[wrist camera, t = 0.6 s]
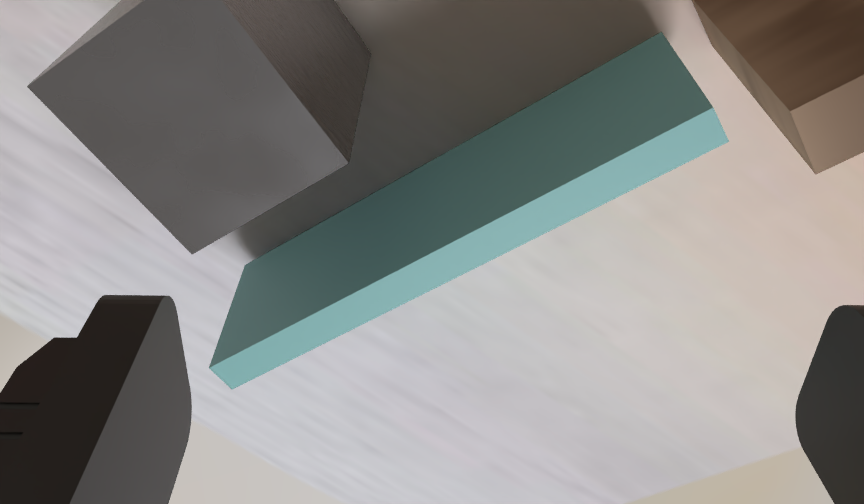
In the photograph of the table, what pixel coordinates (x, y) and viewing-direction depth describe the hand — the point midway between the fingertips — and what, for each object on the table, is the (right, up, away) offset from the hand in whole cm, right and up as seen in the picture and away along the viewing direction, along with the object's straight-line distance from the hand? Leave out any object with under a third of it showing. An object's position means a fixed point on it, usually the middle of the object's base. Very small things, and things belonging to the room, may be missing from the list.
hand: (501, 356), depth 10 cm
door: (0, +4, +19) cm, 20 cm away
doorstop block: (-7, +9, +17) cm, 20 cm away
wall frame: (+10, +10, +16) cm, 21 cm away
